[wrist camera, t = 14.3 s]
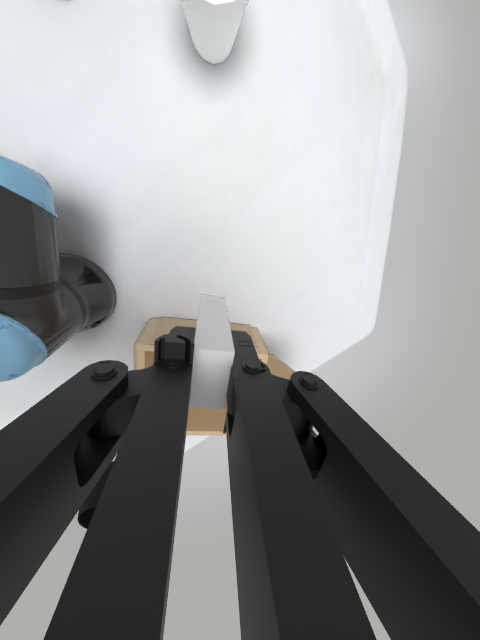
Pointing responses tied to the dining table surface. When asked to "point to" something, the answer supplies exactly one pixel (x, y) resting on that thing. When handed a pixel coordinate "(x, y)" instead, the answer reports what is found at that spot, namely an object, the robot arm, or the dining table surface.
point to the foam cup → (214, 26)
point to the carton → (198, 418)
